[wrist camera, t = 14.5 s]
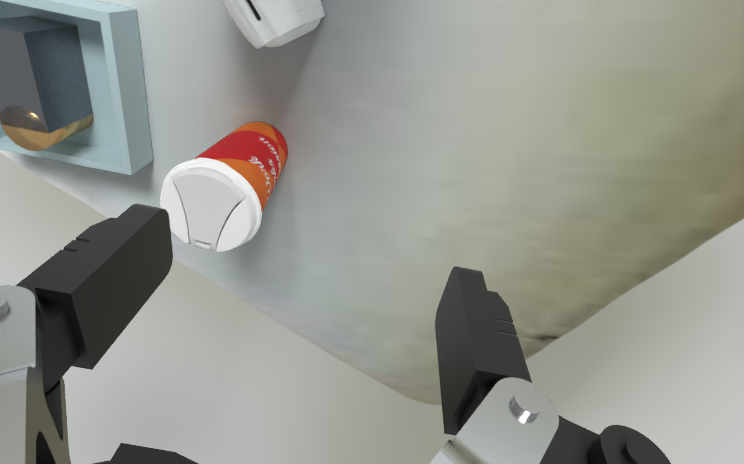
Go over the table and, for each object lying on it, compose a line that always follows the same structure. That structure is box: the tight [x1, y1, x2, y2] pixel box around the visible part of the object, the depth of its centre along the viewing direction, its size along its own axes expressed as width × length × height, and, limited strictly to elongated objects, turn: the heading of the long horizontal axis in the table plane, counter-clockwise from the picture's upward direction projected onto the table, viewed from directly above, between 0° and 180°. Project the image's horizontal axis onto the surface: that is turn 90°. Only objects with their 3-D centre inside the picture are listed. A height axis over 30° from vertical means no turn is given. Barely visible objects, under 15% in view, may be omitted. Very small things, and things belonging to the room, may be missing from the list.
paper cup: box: [160, 122, 288, 252], centre depth 36 cm, size 8×8×14 cm
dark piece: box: [0, 15, 94, 151], centre depth 36 cm, size 4×10×6 cm, turn 170°
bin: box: [0, 0, 153, 175], centre depth 38 cm, size 14×14×4 cm
